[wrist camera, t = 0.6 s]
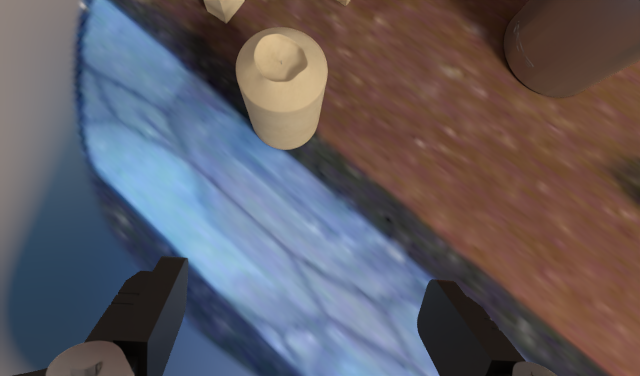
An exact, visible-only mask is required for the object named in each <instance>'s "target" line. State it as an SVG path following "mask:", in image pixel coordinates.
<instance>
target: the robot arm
mask: <svg viewBox="0 0 640 376" xmlns="http://www.w3.org/2000/svg"><path fill="white" fill-rule="evenodd" d="M504 52H505V57H506V59H507V62H508V64H509V67H510V68H511V70H512V71H513V73H514V74H515V76H516V77H517V78H518V79H519V80H520V81H521V82H522V83H523V84H524V85H526V86H527V87H529V88H530V89H531V90H533V91H535V92H538V93H540V94H542V95H546V96H550V97H568V96H573V95H575V94H577V93H580V92H582V91H584V90H586V89H587V88H589V87H591V86H593V85H595V84H597V83H599V82H600V81H602V80H604V79H606V78H608V77H610V76H612V75H613V74H615V73H617V72H619V71H621V70H623V69H625V68H627V67H629V66H630V65H632V64H634V63H636V62H638V61H640V0H529V1H528V2H527V3H526V4H525V5H524V6H523V8H522V9H521V10H520V11H519V12H518V13H517V14H516V15H515V16H514V17H513V18H512V19H511V21H510V22H509V24H508V26H507V28H506V31H505V35H504ZM187 279H188V258H183V257H171V256H162V257H161V258H160V260H159V261H158V263H157V265H156V267H155V268H154V270H153V272H151V271H140V272H138V273H137V274H135V275H134V276H132V277H131V278H129V279H128V280H126V282H125V283H124V285H123V286H122V288H121V289H120V290H119V292H118V295H116V296H115V298H114V299H113V301H112V303H111V305H109V307H108V308H107V310H106V311H105V313H104V314H103V316H102V317H101V318H100V320H99V321H98V323H97V324H96V326H95V327H94V329H93V330H92V332H91V333H90V335H89V336H88V338H87V339H86V340H85V342H84V343H82V344H79V345H76V346H73V347H71V348H69V349H67V350H66V351H64V352H63V353H61V354H60V355H59V356H57V357H56V358H55V359H54V360H53V361H52V363H51V364H50V366H49V367H48V368H46V369H42V370H38V371H34V372H29V373H24V374H19V375H14V376H162V375H163V372H164V370H165V367H166V364H167V362H168V359H169V356H170V353H171V350H172V348H173V345H174V342H175V339H176V337H177V334H178V331H179V328H180V326H181V323H182V320H183V317H184V312H185V307H186V298H187ZM417 328H418V333H419V336H420V338H421V340H422V342H423V344H424V346H425V348H426V350H427V352H428V354H429V356H430V358H431V360H432V361H433V363H434V365H435V367H436V369H437V371H438V373H439V375H440V376H557V375H555V374H554V373H553V372H551V371H550V370H548V369H546V368H544V367H542V366H540V365H538V364H535V363H531V362H526V361H525V360H524V358H523V357H522V356H521V355H520V354H519V352H518V351H517V350H516V349H515V347H514V346H513V345H512V344H511V342H510V341H509V340H508V339H507V337H506V336H505V335H504V334H503V333H502V331H500V330H499V328H498V326H497V325H496V324H495V323H494V321H491V318H490V316H489V315H488V314H487V313H486V312H485V310H484V309H483V308H482V307H481V306H480V305H478V304H477V303H476V302H474V301H473V300H472V299H470V298H469V297H467V296H466V295H465V294H464V293H463V291H462V290H461V289H460V287H459V286H458V285H457V284H456V283H455V282H454V281H446V280H434V279H432V280H430V281H429V283H428V285H427V288H426V292H425V295H424V298H423V301H422V305H421V308H420V311H419V314H418V319H417Z"/></svg>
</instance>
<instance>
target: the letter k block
mask: <svg viewBox="0 0 640 376" xmlns="http://www.w3.org/2000/svg"><path fill="white" fill-rule="evenodd" d="M244 1H245V0H204V3H205V6H206V9H207V11H208V12H209V13H211V14H213V15H214V16H216V17H217V18H219V19H220V20H222V21H223V22H225V23H226V24H227V23H228V21H229V20H230V19H231V18H232V16H233V15H234V14H235V12H236V11H237V10H238V9H239V7H240V6H241V5H242V4H243V2H244ZM336 1H338V2H340V3H341V4H343V5H344V6H346V5H347V4H348V3H349V1H350V0H336Z"/></svg>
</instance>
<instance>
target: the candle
mask: <svg viewBox="0 0 640 376" xmlns="http://www.w3.org/2000/svg"><path fill="white" fill-rule="evenodd" d="M327 74H328V68H327V62H326V58H325V56H324V53H323V51H322V50H321V48H320V47H319V45H318V44H317V43H316V42H315V41H314V40H313V39H312V38H311V37H309V36H308V35H306V34H305V33H303V32H301V31H298V30H295V29H292V28H286V27H276V28H270V29H266V30H263V31H261V32H259V33H257V34H255V35H254V36H252V37H251V38H250V39H249V40H248V41H247V42H246V43H245V44H244V46H243V47H242V48H241V50H240V52H239V55H238V57H237V62H236V77H237V81H238V84H239V87H240V90H241V93H242V96H243V99H244V102H245V105H246V108H247V111H248V114H249V117H250V120H251V123H252V125H253V128H254V130H255V132H256V134H257V135H258V137H259V138H260V139H261V140H262V141H263V142H265V143H266V144H267V145H269V146H271V147H273V148H277V149H282V150H288V149H294V148H297V147H300V146H301V145H303V144H305V143H306V142H307V141H308V140H309V139H310V138H311V137H312V136H313V134H314V132H315V130H316V128H317V124H318V121H319V116H320V111H321V106H322V101H323V96H324V91H325V85H326V80H327Z"/></svg>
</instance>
